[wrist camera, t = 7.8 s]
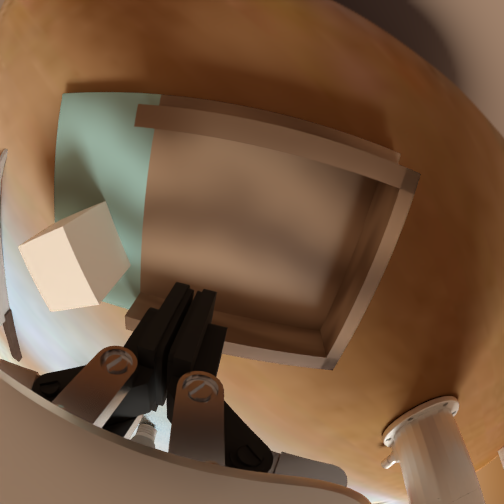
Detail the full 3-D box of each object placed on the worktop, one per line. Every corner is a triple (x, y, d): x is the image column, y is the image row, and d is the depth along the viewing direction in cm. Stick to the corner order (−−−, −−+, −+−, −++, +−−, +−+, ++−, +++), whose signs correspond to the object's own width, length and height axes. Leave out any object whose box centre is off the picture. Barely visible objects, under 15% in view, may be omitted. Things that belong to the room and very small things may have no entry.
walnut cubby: (320, 341, 22) (328, 376, 19) (67, 281, 21) (43, 306, 18) (394, 152, 16) (424, 160, 12) (70, 93, 15) (35, 92, 11)
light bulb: (144, 435, 32) (127, 489, 23) (120, 413, 30) (98, 472, 21) (177, 436, 31) (164, 496, 22) (154, 414, 29) (134, 480, 20)
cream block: (131, 265, 19) (99, 304, 14) (84, 276, 20) (50, 311, 15) (105, 200, 17) (62, 226, 12) (59, 220, 18) (18, 246, 13)
